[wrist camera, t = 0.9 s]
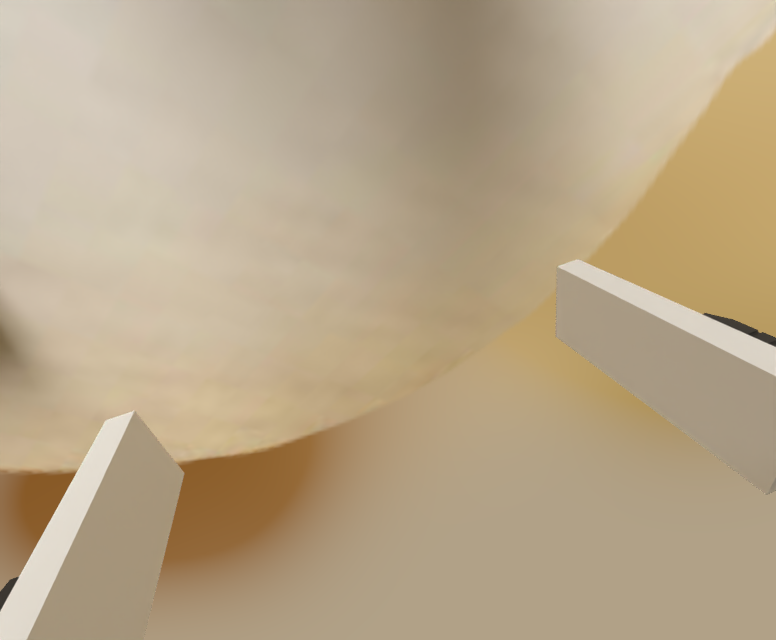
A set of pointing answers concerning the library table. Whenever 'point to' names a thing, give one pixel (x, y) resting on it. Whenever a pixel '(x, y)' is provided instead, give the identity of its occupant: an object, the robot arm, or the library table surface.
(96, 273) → the library table surface
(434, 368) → the library table surface
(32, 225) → the library table surface
